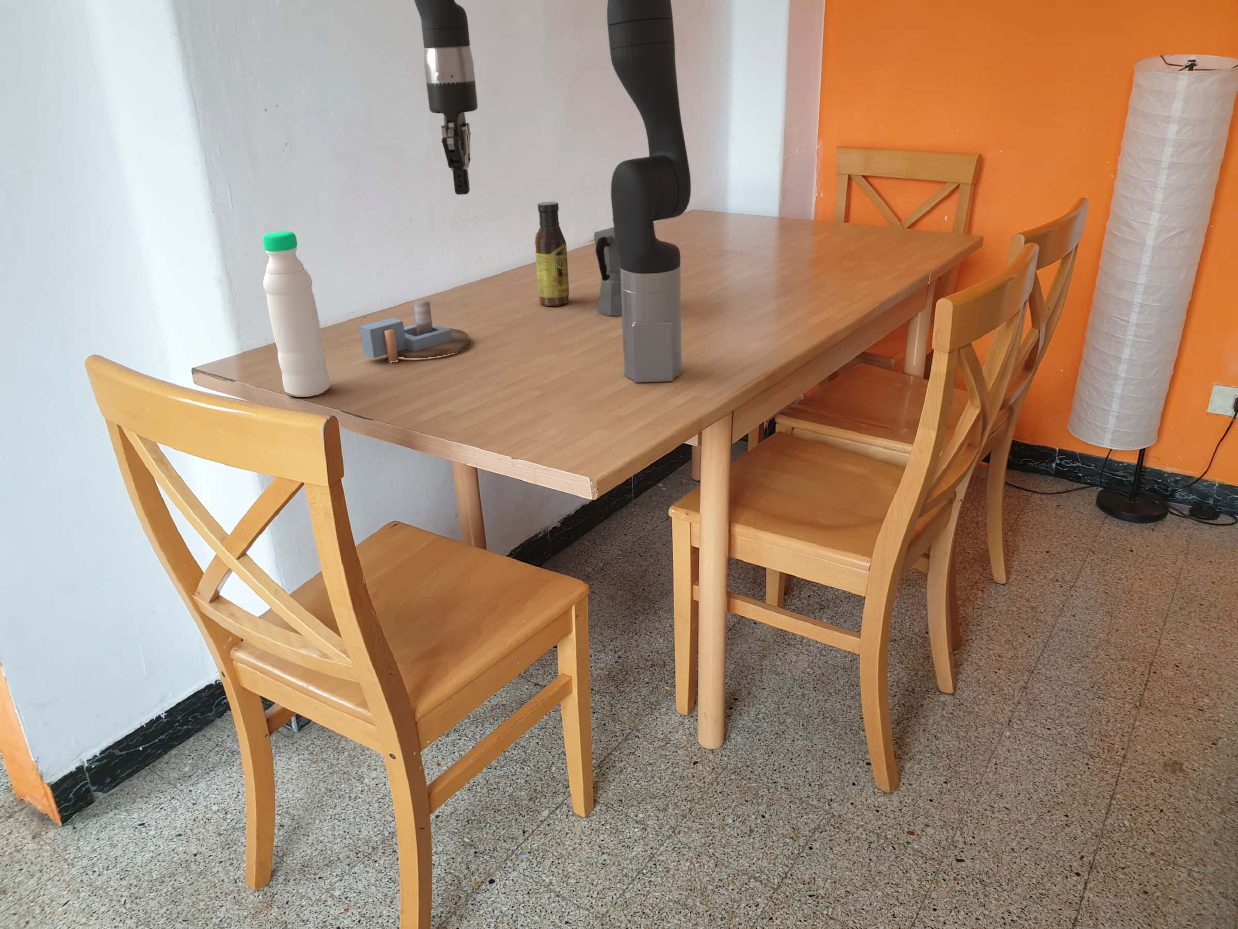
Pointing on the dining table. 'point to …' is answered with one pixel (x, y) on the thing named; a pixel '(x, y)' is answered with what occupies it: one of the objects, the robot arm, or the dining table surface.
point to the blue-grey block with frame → (400, 337)
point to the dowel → (391, 345)
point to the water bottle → (294, 317)
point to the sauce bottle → (551, 257)
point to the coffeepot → (609, 273)
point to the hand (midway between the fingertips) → (462, 193)
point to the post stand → (425, 326)
